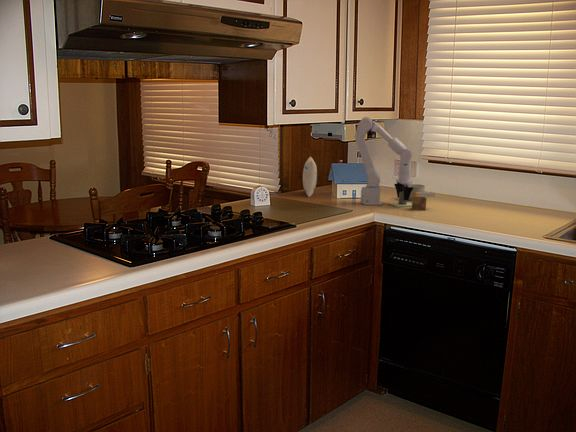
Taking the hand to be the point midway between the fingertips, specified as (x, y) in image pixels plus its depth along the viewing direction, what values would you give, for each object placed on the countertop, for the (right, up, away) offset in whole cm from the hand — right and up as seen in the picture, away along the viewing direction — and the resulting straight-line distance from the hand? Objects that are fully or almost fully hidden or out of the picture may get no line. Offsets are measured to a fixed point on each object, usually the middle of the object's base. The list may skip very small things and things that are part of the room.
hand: (402, 198), depth 302 cm
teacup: (+9, 0, +17) cm, 19 cm away
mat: (0, -3, +1) cm, 3 cm away
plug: (0, -3, +1) cm, 3 cm away
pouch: (-47, +3, +25) cm, 53 cm away
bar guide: (+6, -5, -9) cm, 12 cm away
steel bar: (+9, +1, -10) cm, 13 cm away
